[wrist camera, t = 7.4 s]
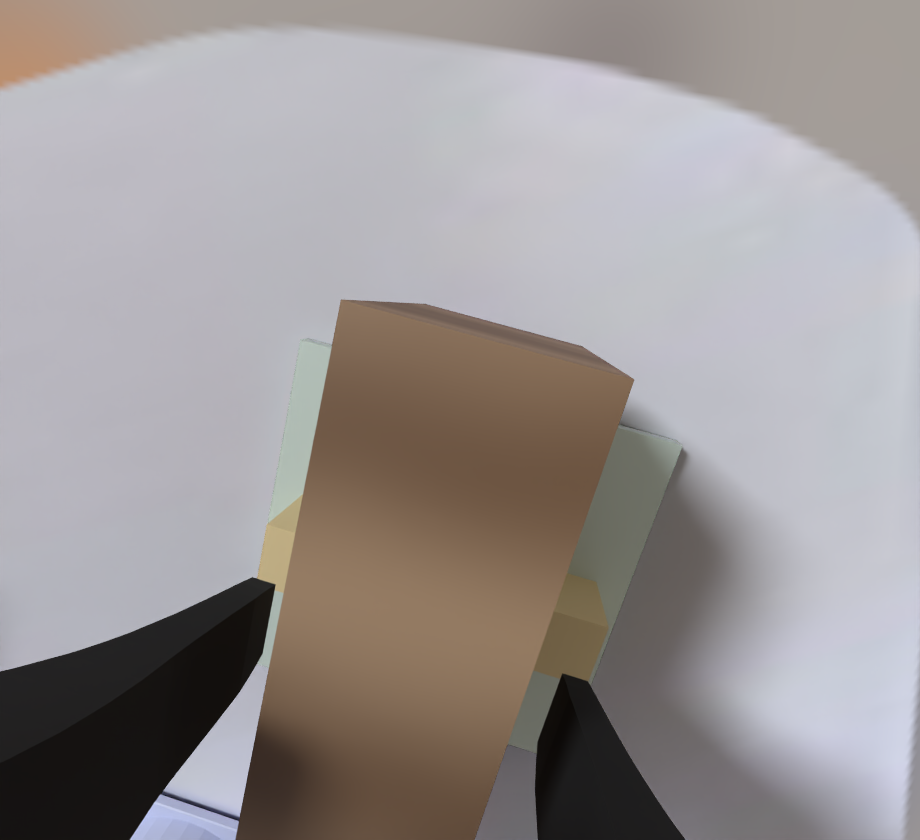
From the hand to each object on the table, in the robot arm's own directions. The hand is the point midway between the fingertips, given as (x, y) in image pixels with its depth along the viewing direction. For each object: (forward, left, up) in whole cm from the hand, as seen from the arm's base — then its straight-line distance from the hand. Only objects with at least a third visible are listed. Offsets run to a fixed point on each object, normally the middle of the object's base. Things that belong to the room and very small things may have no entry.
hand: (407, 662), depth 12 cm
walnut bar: (0, 0, -2) cm, 2 cm away
